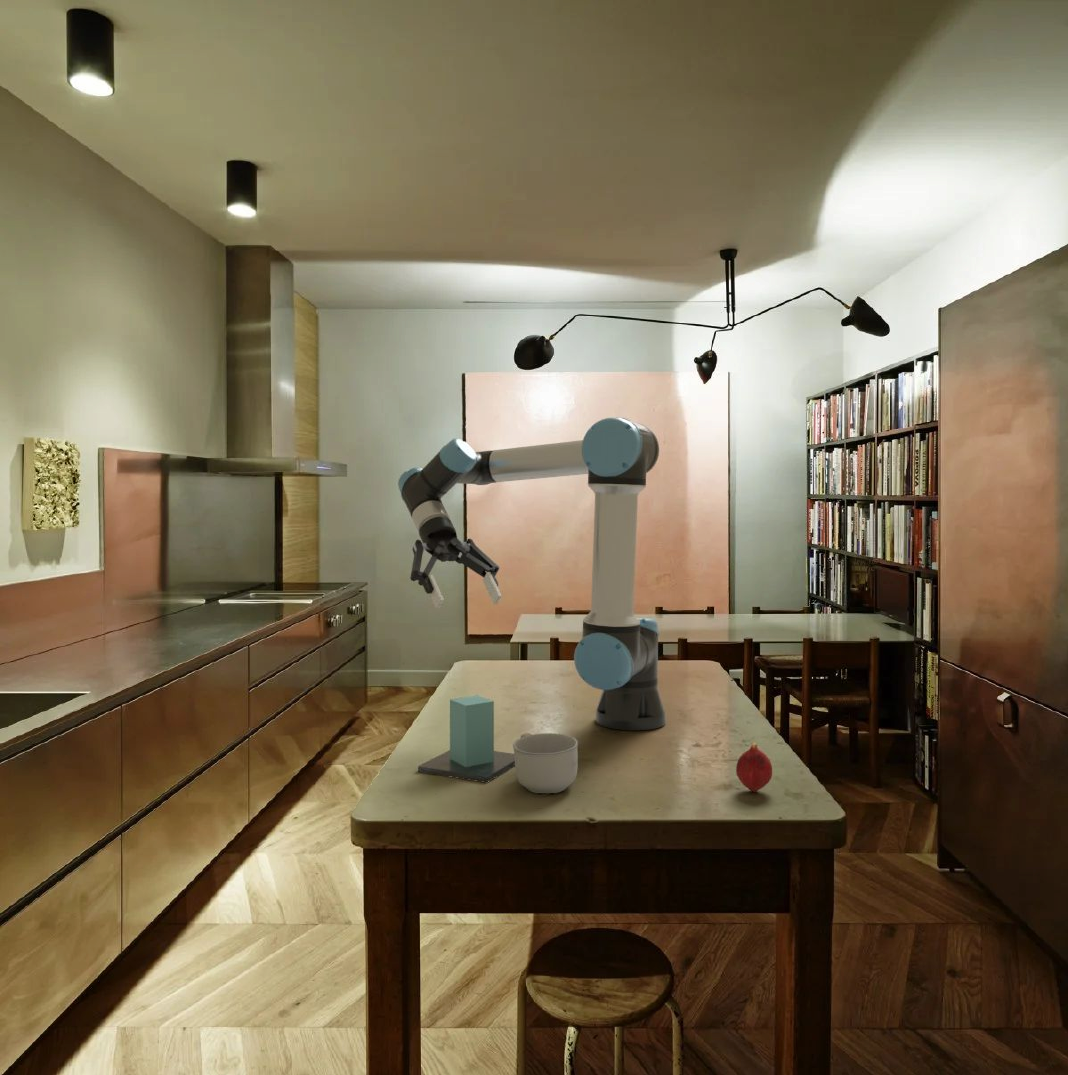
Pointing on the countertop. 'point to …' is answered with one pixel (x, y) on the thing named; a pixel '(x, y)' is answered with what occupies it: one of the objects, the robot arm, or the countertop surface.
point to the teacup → (546, 761)
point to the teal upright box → (471, 730)
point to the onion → (754, 769)
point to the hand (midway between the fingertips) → (469, 602)
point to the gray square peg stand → (477, 772)
